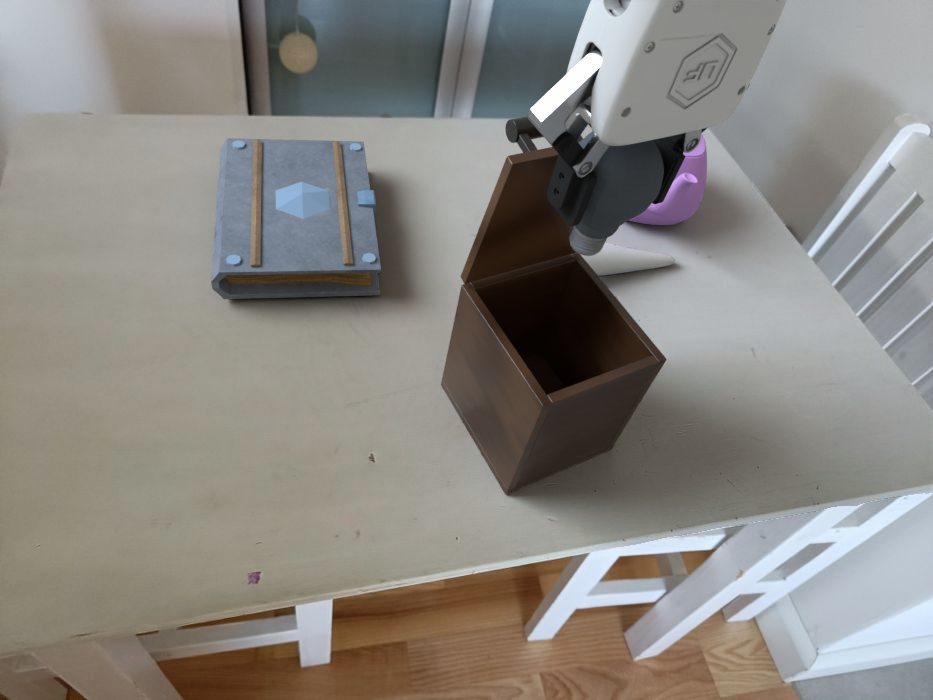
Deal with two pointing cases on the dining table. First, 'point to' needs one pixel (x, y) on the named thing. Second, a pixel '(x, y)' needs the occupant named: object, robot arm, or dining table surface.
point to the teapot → (681, 191)
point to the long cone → (625, 260)
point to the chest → (545, 368)
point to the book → (294, 220)
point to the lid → (519, 212)
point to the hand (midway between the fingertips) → (605, 198)
